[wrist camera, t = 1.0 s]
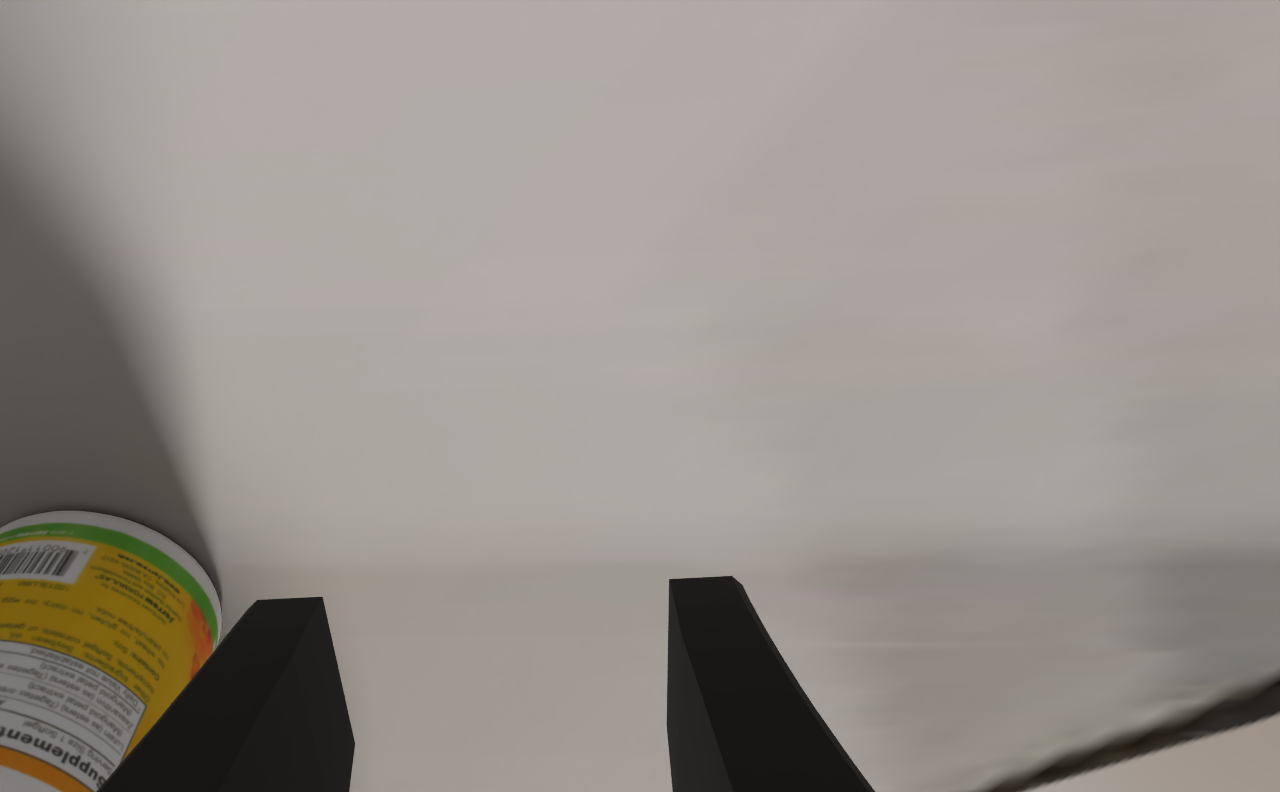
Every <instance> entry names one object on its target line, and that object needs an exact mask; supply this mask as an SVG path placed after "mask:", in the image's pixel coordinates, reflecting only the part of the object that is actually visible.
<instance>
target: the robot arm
mask: <svg viewBox="0 0 1280 792" xmlns="http://www.w3.org/2000/svg"><path fill="white" fill-rule="evenodd" d="M667 733H668V744H669V755H670V765H671V776H672V787H673V792H875V791H874V790H873V788H872V787H871V786H870V784H869V783H868V782H867V780H866V779H865V778H864V776H863V775H862V774H861V772H860V771H859V770H858V768H857V767H856V766H855V764H854V763H853V761H852V760H851V759H850V757H849V756H848V754H847V753H846V751H845V750H844V749H843V747H842V746H841V744H840V743H839V742H838V740H837V739H836V737H835V736H834V734H833V733H832V732H831V730H830V729H829V727H828V726H827V724H826V723H825V722H824V720H823V719H822V717H821V716H820V714H819V713H818V712H817V710H816V709H815V707H814V706H813V704H812V703H811V701H810V700H809V698H808V697H807V695H806V694H805V692H804V691H803V689H802V688H801V686H800V685H799V683H798V681H797V680H796V678H795V677H794V675H793V673H792V672H791V670H790V669H789V667H788V665H787V664H786V662H785V661H784V659H783V657H782V656H781V654H780V653H779V651H778V649H777V648H776V646H775V644H774V643H773V641H772V639H771V638H770V636H769V634H768V632H767V631H766V629H765V627H764V625H763V624H762V622H761V620H760V618H759V616H758V615H757V613H756V611H755V609H754V607H753V605H752V603H751V602H750V600H749V598H748V596H747V594H746V592H745V589H744V587H743V585H742V584H741V583H739V582H738V581H737V580H736V579H735V578H734V577H732V576H724V577H704V578H684V579H669V626H668V686H667ZM354 748H355V742H354V737H353V733H352V728H351V724H350V719H349V715H348V710H347V705H346V701H345V696H344V692H343V687H342V683H341V678H340V674H339V669H338V665H337V660H336V656H335V651H334V647H333V642H332V638H331V633H330V629H329V624H328V620H327V615H326V611H325V606H324V602H323V597H309V598H289V599H269V600H257V601H256V602H255V603H254V604H253V605H252V606H251V607H250V608H249V609H248V610H247V611H246V612H245V613H244V615H243V616H242V617H241V618H240V620H239V621H238V622H237V623H236V624H235V626H234V627H233V628H232V629H231V631H230V632H229V633H228V634H227V636H226V637H225V638H224V639H223V641H222V642H221V643H220V644H219V646H218V647H217V648H216V649H215V651H214V652H213V653H212V654H211V656H210V657H209V658H208V659H207V661H206V662H205V663H204V664H203V666H202V667H201V668H200V669H199V671H198V672H197V673H196V674H195V675H194V677H193V678H192V679H191V680H190V682H189V683H188V684H187V685H186V687H185V688H184V689H183V690H182V691H181V693H180V694H179V695H178V696H177V697H176V699H175V700H174V701H173V702H172V704H171V705H170V706H169V707H168V708H167V710H166V711H165V712H164V713H163V714H162V716H161V717H160V718H159V719H158V720H157V722H156V723H155V724H154V725H153V726H152V728H151V729H150V730H149V731H148V732H147V733H146V735H145V736H144V737H143V738H142V739H141V740H140V742H139V743H138V744H137V745H136V746H135V747H134V748H133V750H132V751H131V752H130V753H129V754H128V755H127V757H126V758H125V759H124V760H123V761H122V762H121V764H120V765H119V766H118V767H117V768H116V769H115V771H114V772H113V773H112V774H111V775H110V776H109V778H108V779H107V780H106V781H105V782H104V783H103V785H102V786H101V787H100V788H99V789H98V790H97V791H96V792H349V788H350V780H351V772H352V764H353V756H354Z"/></svg>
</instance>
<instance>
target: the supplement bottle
mask: <svg viewBox="0 0 1280 792" xmlns="http://www.w3.org/2000/svg"><path fill="white" fill-rule="evenodd" d="M221 626H222V615H221V607H220V602H219V599H218V596H217V593H216V590H215V588H214V586H213V584H212V582H211V580H210V579H209V577H208V575H207V574H206V573H205V571H204V570H203V568H202V567H201V566H200V565H199V564H198V562H197V561H196V560H195V559H194V558H193V557H192V556H190V555H189V554H188V553H187V552H186V551H185V550H184V549H182V548H181V547H180V546H178V545H177V544H176V543H174V542H173V541H171V540H170V539H168V538H167V537H165V536H163V535H162V534H160V533H158V532H156V531H154V530H152V529H150V528H148V527H146V526H143V525H141V524H138V523H135V522H133V521H130V520H127V519H124V518H120V517H116V516H111V515H106V514H101V513H94V512H86V511H52V512H46V513H39V514H35V515H31V516H27V517H23V518H21V519H18V520H15V521H13V522H10V523H8V524H7V525H5V526H3V527H1V528H0V792H96V791H97V790H98V789H99V788H100V787H101V786H102V785H103V783H104V782H105V781H106V780H107V779H108V778H109V776H110V775H111V774H112V773H113V772H114V771H115V769H116V768H117V767H118V766H119V765H120V764H121V762H122V761H123V760H124V759H125V758H126V757H127V755H128V754H129V753H130V752H131V751H132V750H133V748H134V747H135V746H136V745H137V744H138V743H139V742H140V740H141V739H142V738H143V737H144V736H145V735H146V733H147V732H148V731H149V730H150V729H151V728H152V726H153V725H154V724H155V723H156V722H157V720H158V719H159V718H160V717H161V716H162V714H163V713H164V712H165V711H166V710H167V708H168V707H169V706H170V705H171V704H172V702H173V701H174V700H175V699H176V697H177V696H178V695H179V694H180V693H181V691H182V690H183V689H184V688H185V687H186V685H187V684H188V683H189V682H190V680H191V679H192V678H193V677H194V675H195V674H196V673H197V672H198V671H199V669H200V668H201V667H202V666H203V664H204V663H205V662H206V661H207V659H208V658H209V657H210V656H211V654H212V653H213V652H214V651H215V649H216V648H217V645H218V642H219V638H220V634H221Z"/></svg>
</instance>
